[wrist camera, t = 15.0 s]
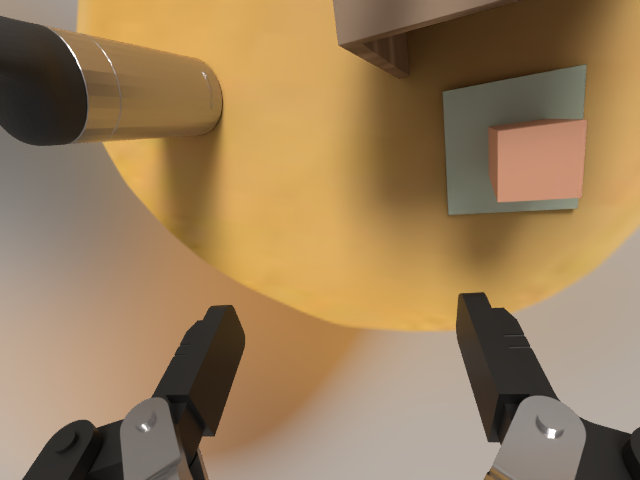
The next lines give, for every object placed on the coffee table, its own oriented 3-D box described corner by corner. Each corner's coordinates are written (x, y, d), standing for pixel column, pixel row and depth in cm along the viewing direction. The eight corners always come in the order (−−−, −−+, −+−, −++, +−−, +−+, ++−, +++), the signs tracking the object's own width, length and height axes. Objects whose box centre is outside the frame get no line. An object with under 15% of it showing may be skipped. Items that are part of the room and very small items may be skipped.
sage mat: (448, 213, 36) (448, 215, 35) (443, 92, 33) (442, 91, 32) (575, 206, 31) (577, 208, 31) (584, 65, 28) (586, 64, 27)
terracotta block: (488, 175, 33) (497, 202, 22) (488, 126, 31) (497, 131, 21) (543, 170, 31) (581, 197, 20) (545, 118, 30) (587, 119, 19)
